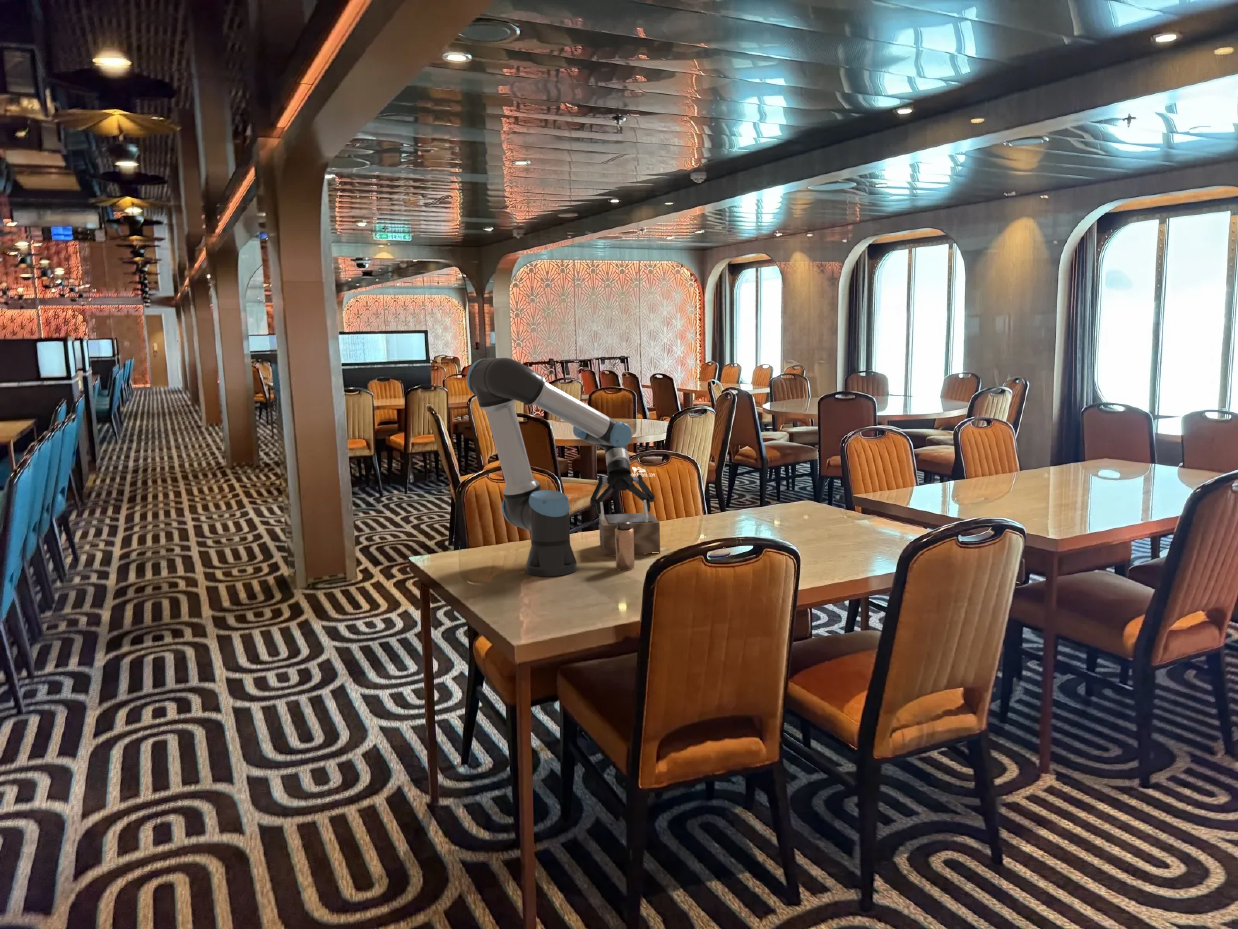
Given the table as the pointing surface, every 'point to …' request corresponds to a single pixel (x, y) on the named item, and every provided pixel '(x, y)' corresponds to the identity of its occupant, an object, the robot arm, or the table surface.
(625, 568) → the copper pepper mill
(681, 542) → the table surface
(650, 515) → the walnut stand
